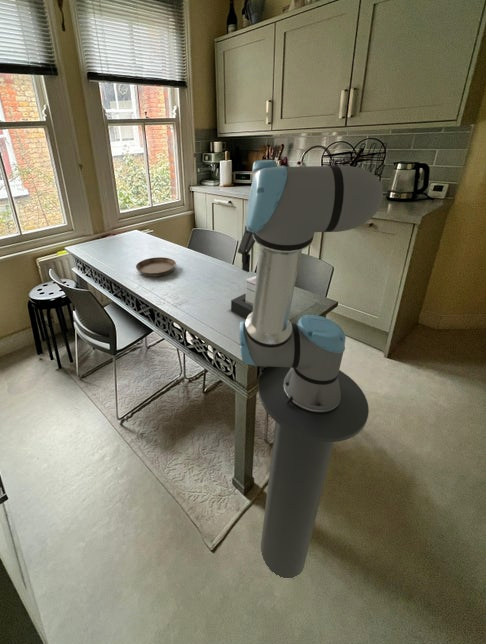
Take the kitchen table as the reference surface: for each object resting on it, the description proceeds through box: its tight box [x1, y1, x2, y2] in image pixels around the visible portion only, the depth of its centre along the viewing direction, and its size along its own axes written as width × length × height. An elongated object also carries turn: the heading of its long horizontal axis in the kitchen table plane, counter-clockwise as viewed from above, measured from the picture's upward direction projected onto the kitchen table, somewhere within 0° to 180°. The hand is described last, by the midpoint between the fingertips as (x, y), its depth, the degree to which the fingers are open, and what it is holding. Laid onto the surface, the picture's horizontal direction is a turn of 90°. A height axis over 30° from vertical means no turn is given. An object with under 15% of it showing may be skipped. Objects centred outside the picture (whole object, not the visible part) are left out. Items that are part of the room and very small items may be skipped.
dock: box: [230, 292, 253, 320], centre depth 124 cm, size 13×13×5 cm
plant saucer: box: [135, 256, 177, 277], centre depth 163 cm, size 21×21×3 cm
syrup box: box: [245, 275, 256, 306], centre depth 122 cm, size 6×6×14 cm
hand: (258, 265), depth 116 cm, fingers open, 13 cm apart
